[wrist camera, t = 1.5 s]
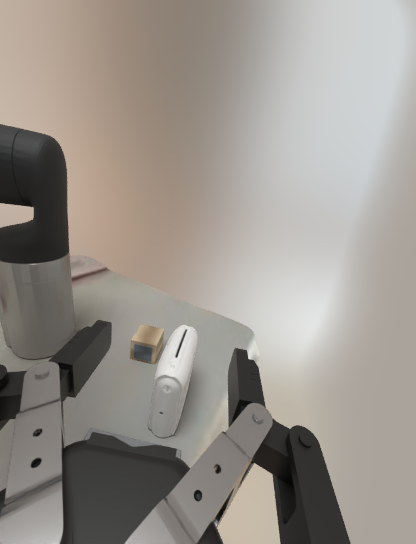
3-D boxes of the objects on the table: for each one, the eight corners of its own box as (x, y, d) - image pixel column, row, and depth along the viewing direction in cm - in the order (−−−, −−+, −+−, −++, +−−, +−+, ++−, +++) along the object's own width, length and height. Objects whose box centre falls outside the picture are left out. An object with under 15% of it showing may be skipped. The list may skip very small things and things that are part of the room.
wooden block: (129, 359, 39) (130, 340, 37) (140, 342, 43) (141, 324, 42) (154, 365, 39) (156, 346, 37) (161, 347, 43) (164, 329, 42)
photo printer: (174, 443, 28) (188, 378, 24) (143, 434, 29) (150, 367, 24) (191, 378, 38) (203, 321, 33) (167, 372, 38) (176, 315, 33)
